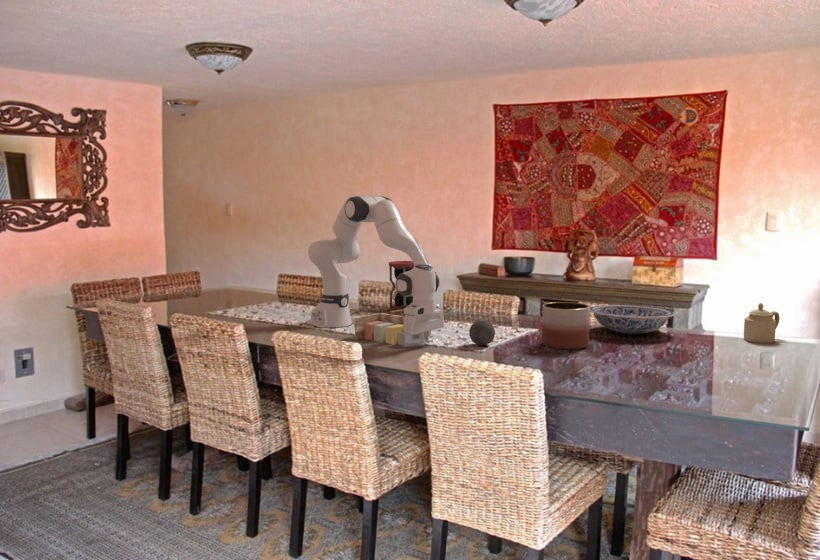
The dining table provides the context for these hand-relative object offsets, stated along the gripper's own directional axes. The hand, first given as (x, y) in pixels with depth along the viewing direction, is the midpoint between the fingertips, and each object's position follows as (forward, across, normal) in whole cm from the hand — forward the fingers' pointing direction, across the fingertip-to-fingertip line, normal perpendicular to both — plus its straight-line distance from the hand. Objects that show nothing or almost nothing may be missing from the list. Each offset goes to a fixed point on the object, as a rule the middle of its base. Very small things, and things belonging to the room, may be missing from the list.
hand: (424, 342), depth 255 cm
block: (+2, 0, -7) cm, 7 cm away
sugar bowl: (+2, -96, +94) cm, 134 cm away
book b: (+2, 0, -22) cm, 22 cm away
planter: (+2, -37, +40) cm, 55 cm away
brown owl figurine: (+2, -21, -26) cm, 34 cm away
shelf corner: (+2, 0, -18) cm, 18 cm away
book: (+2, 0, -15) cm, 15 cm away
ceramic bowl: (+2, -76, +49) cm, 90 cm away
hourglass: (+2, -57, -62) cm, 84 cm away
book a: (+2, 0, -27) cm, 27 cm away
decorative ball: (+2, -17, +15) cm, 23 cm away
